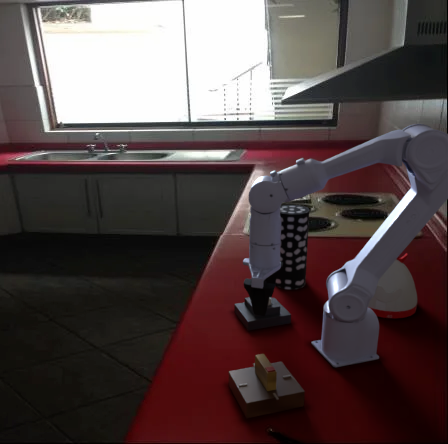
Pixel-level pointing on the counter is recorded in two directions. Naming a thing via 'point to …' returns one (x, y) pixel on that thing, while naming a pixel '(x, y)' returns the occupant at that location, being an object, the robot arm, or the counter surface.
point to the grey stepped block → (272, 318)
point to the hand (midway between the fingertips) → (263, 304)
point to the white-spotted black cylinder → (293, 246)
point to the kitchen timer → (395, 292)
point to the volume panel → (265, 391)
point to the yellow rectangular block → (265, 372)
